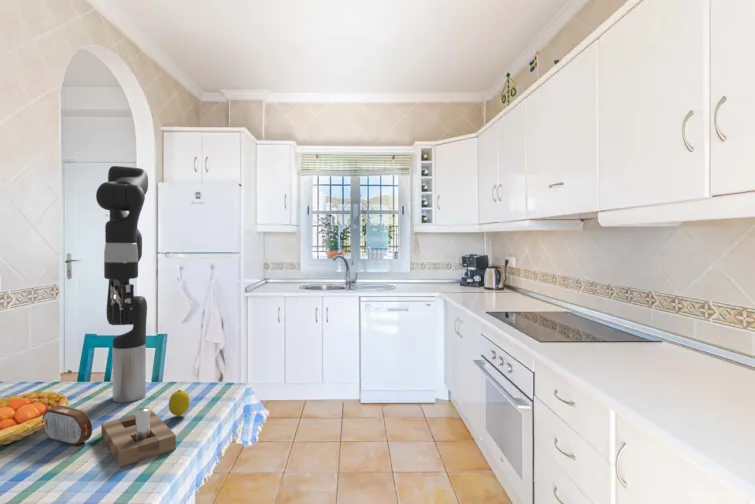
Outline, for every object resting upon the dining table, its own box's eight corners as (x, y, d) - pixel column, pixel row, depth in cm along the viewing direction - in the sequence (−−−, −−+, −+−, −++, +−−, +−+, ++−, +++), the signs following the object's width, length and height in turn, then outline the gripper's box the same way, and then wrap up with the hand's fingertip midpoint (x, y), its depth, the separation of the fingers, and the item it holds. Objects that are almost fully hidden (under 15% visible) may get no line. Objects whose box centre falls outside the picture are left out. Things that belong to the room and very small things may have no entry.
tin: (93, 443, 103) (93, 410, 103) (80, 449, 100) (80, 415, 100) (53, 433, 108) (52, 402, 107) (39, 439, 105) (39, 406, 104)
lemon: (181, 421, 116) (181, 393, 115) (164, 419, 117) (164, 392, 116) (193, 413, 121) (193, 387, 121) (177, 411, 122) (177, 385, 122)
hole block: (101, 436, 106) (101, 423, 106) (151, 422, 115) (151, 410, 115) (119, 467, 92) (119, 452, 92) (175, 449, 100) (175, 435, 100)
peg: (134, 449, 100) (134, 409, 99) (147, 445, 102) (147, 406, 102) (137, 454, 98) (137, 413, 97) (151, 450, 100) (151, 410, 99)
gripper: (98, 259, 108) (99, 319, 109) (110, 261, 98) (110, 328, 99) (130, 259, 114) (130, 316, 114) (145, 261, 103) (145, 324, 104)
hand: (121, 322), depth 106 cm, fingers open, 8 cm apart
